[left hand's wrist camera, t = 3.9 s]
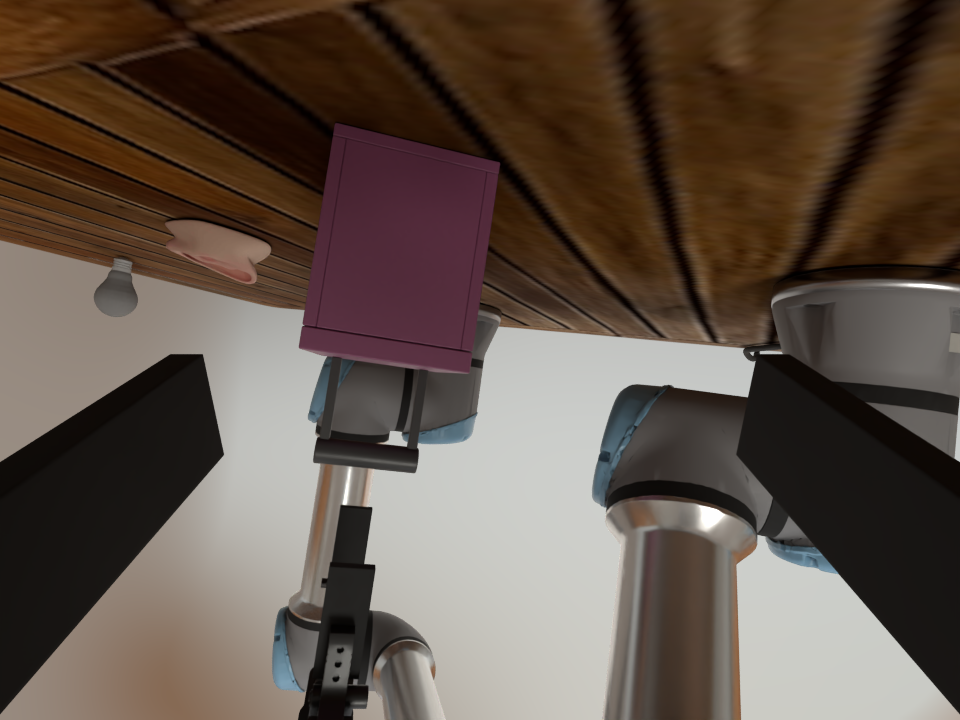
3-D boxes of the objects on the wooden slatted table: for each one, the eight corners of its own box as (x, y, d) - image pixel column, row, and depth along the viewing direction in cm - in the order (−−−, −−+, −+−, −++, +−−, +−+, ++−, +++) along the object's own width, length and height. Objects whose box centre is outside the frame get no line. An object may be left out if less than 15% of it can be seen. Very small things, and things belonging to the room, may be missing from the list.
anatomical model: (161, 250, 51) (281, 277, 57) (168, 211, 51) (286, 242, 57) (156, 265, 62) (257, 287, 68) (162, 233, 62) (262, 257, 68)
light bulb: (138, 258, 84) (127, 318, 84) (149, 264, 90) (139, 321, 90) (95, 250, 83) (84, 311, 82) (109, 257, 88) (99, 314, 88)
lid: (439, 357, 43) (422, 466, 42) (322, 339, 41) (304, 454, 40) (472, 352, 29) (449, 512, 29) (302, 325, 27) (274, 496, 27)
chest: (459, 224, 43) (440, 357, 42) (344, 200, 41) (322, 338, 40) (500, 162, 30) (472, 351, 29) (335, 121, 28) (302, 324, 27)
